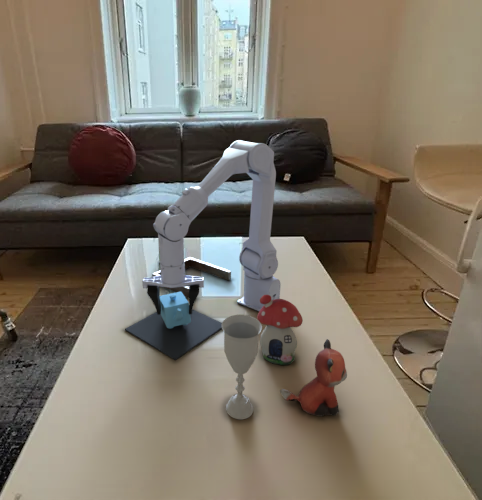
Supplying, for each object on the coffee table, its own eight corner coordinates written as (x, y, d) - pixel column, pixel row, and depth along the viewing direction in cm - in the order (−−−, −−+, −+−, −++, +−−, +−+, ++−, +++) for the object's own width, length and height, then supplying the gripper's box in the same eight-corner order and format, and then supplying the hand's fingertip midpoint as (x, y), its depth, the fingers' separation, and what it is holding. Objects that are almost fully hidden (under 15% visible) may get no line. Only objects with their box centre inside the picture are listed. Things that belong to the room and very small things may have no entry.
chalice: (257, 426, 68) (261, 340, 61) (218, 421, 69) (218, 336, 62) (258, 396, 74) (262, 316, 68) (223, 392, 76) (224, 313, 69)
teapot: (195, 332, 92) (192, 304, 90) (170, 338, 91) (167, 310, 89) (182, 310, 103) (179, 285, 101) (160, 315, 102) (156, 290, 100)
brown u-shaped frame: (231, 279, 121) (231, 270, 120) (193, 300, 110) (193, 291, 109) (190, 264, 133) (190, 256, 132) (152, 282, 121) (151, 273, 120)
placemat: (225, 326, 97) (225, 324, 97) (175, 360, 85) (175, 358, 85) (175, 302, 109) (175, 301, 109) (124, 330, 97) (124, 328, 97)
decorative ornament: (252, 357, 85) (254, 297, 80) (262, 341, 91) (265, 284, 85) (293, 370, 81) (299, 308, 75) (301, 353, 86) (307, 294, 81)
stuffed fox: (277, 387, 77) (281, 336, 72) (335, 389, 75) (343, 338, 71) (282, 416, 70) (286, 362, 65) (346, 419, 69) (355, 364, 64)
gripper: (203, 255, 94) (204, 303, 99) (143, 255, 94) (147, 304, 99) (203, 267, 87) (204, 318, 92) (139, 268, 88) (143, 319, 93)
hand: (174, 312), depth 95 cm, fingers open, 7 cm apart
